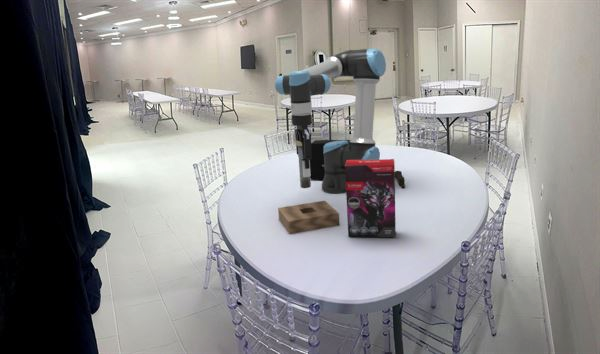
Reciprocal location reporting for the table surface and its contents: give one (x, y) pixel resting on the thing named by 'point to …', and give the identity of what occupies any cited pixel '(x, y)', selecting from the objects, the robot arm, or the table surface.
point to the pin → (304, 181)
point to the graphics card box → (370, 198)
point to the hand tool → (400, 178)
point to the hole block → (308, 216)
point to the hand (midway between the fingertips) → (305, 175)
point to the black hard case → (318, 159)
